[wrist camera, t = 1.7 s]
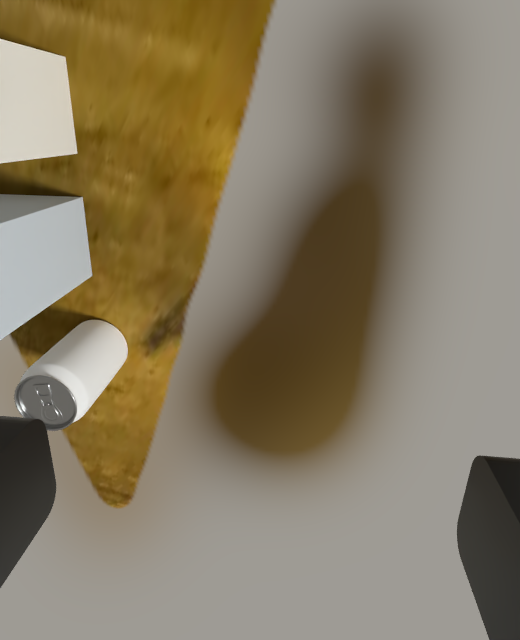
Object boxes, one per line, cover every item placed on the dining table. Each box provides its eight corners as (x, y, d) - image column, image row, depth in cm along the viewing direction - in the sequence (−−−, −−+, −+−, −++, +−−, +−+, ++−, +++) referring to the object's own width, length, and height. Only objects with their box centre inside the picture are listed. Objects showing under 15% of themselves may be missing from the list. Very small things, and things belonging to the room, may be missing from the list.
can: (81, 372, 54) (23, 436, 43) (65, 320, 51) (-2, 374, 40) (135, 368, 53) (90, 432, 42) (121, 315, 50) (69, 368, 39)
